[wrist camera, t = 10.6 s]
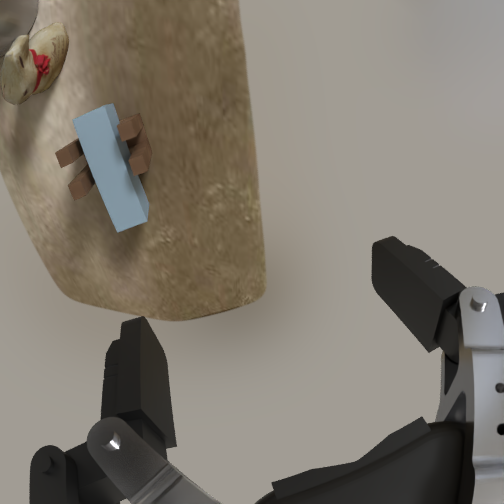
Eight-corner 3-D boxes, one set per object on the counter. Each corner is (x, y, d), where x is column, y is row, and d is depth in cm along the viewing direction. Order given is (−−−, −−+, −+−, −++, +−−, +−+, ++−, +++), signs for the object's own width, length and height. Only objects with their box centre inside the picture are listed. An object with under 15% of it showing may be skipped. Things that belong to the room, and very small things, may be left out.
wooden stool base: (79, 137, 28) (55, 152, 21) (139, 113, 28) (130, 120, 22) (93, 175, 30) (74, 200, 23) (152, 152, 31) (147, 171, 24)
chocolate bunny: (9, 77, 22) (-41, 79, 13) (57, 18, 20) (19, -3, 12) (38, 105, 24) (-6, 115, 16) (88, 46, 23) (57, 31, 15)
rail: (85, 115, 25) (72, 119, 21) (113, 103, 25) (104, 105, 22) (122, 214, 31) (117, 232, 27) (149, 204, 31) (147, 221, 27)
